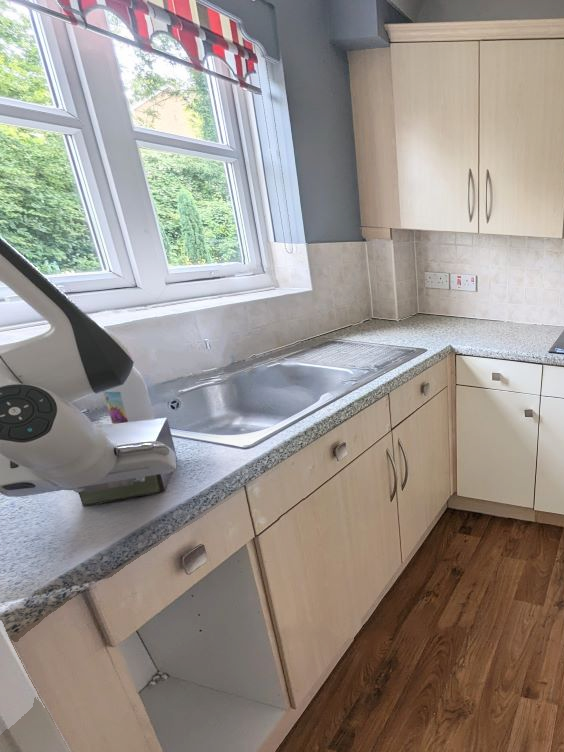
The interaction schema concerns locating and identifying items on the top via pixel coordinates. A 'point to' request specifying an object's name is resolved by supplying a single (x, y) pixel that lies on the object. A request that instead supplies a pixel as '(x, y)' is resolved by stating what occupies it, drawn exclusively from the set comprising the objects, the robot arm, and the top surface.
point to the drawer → (119, 490)
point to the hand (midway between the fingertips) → (111, 482)
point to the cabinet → (139, 433)
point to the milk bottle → (129, 400)
